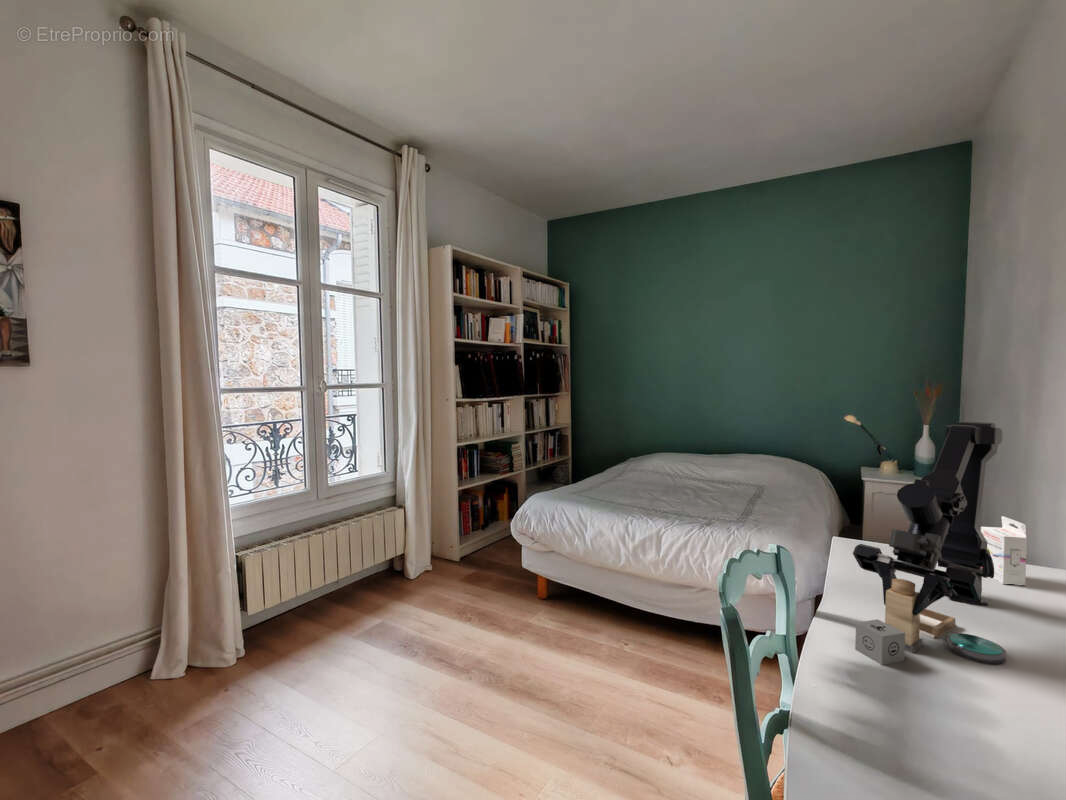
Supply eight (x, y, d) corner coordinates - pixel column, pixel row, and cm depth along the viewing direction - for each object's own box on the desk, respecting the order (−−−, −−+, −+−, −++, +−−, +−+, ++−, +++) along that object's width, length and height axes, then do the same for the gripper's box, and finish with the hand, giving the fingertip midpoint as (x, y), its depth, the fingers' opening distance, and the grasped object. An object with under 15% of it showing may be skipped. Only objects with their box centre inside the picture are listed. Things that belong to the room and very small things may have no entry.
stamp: (891, 633, 94) (893, 575, 94) (922, 644, 90) (924, 583, 90) (881, 641, 91) (882, 580, 91) (912, 653, 87) (914, 589, 87)
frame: (905, 608, 105) (905, 601, 105) (956, 625, 98) (956, 617, 97) (883, 620, 100) (883, 612, 99) (935, 639, 92) (935, 630, 92)
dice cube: (855, 650, 89) (855, 622, 88) (877, 646, 90) (877, 619, 90) (881, 665, 84) (882, 636, 84) (904, 661, 85) (905, 632, 85)
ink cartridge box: (977, 571, 126) (979, 514, 125) (1000, 573, 125) (1002, 515, 125) (1002, 584, 118) (1004, 523, 117) (1026, 586, 117) (1029, 524, 116)
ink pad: (939, 636, 93) (940, 628, 93) (995, 646, 90) (995, 638, 90) (953, 657, 86) (953, 648, 86) (1014, 669, 82) (1015, 660, 82)
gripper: (858, 503, 100) (830, 569, 94) (979, 525, 85) (955, 605, 79) (874, 535, 105) (848, 599, 99) (991, 562, 89) (969, 639, 83)
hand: (899, 609), depth 90 cm, fingers closed on stamp, 4 cm apart
